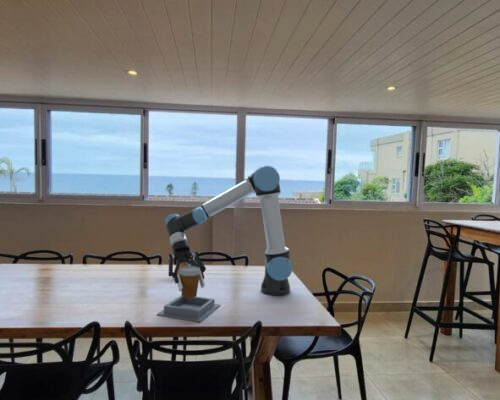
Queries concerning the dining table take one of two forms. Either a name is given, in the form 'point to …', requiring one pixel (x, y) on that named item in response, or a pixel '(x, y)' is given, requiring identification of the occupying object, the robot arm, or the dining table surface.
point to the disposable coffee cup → (189, 280)
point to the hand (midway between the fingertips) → (192, 287)
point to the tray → (189, 308)
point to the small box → (183, 266)
